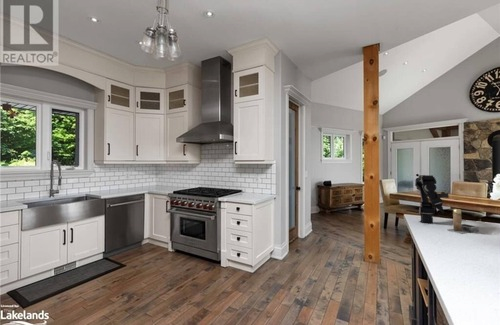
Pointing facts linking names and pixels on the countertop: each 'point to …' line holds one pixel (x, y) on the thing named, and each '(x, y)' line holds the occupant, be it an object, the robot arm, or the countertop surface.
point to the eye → (470, 228)
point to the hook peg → (457, 220)
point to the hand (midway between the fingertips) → (443, 212)
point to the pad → (458, 231)
